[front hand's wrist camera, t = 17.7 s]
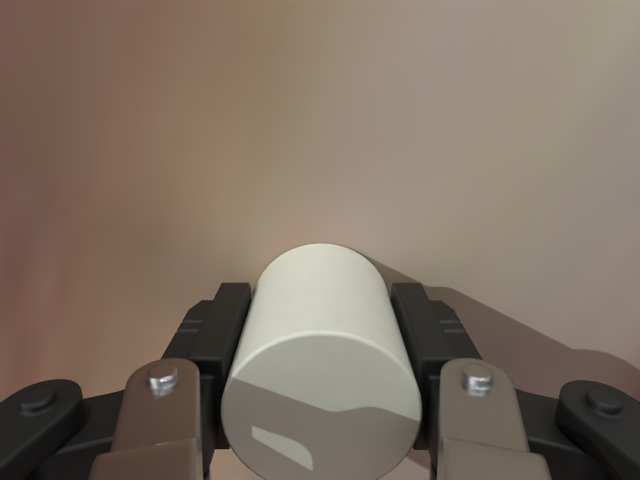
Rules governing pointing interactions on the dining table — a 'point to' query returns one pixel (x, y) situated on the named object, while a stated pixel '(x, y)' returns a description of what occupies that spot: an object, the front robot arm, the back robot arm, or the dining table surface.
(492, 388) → the front robot arm
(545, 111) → the dining table surface
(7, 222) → the dining table surface
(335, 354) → the can
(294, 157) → the dining table surface
